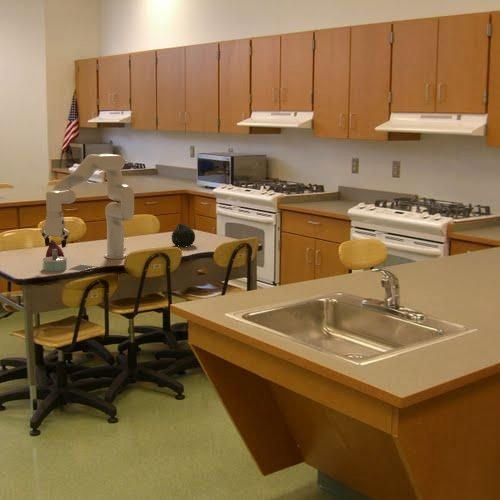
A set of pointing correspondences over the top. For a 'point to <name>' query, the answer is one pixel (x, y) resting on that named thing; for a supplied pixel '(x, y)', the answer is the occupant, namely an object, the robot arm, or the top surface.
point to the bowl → (55, 266)
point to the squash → (183, 235)
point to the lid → (54, 258)
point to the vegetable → (54, 246)
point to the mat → (81, 267)
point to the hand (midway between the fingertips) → (55, 246)
